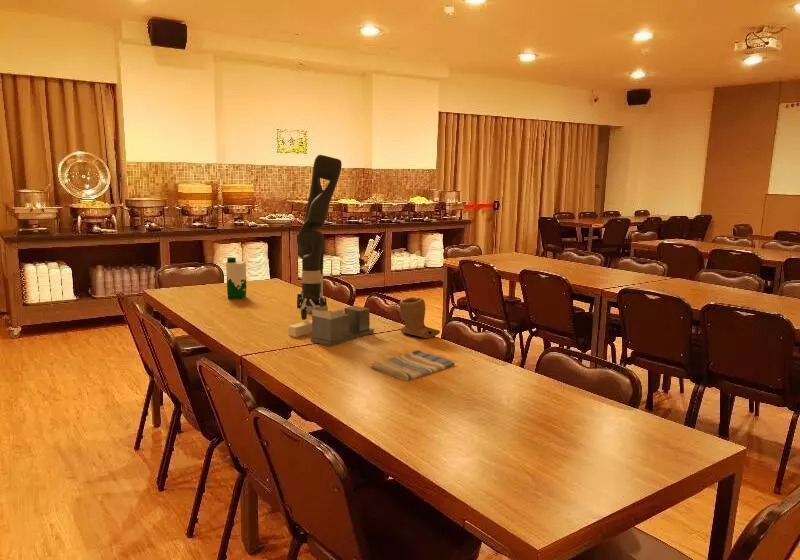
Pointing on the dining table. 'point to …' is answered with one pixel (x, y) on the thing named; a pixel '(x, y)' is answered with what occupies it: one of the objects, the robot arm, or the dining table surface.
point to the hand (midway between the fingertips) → (311, 321)
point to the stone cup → (415, 318)
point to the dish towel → (412, 365)
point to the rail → (300, 328)
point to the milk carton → (236, 278)
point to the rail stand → (339, 324)
